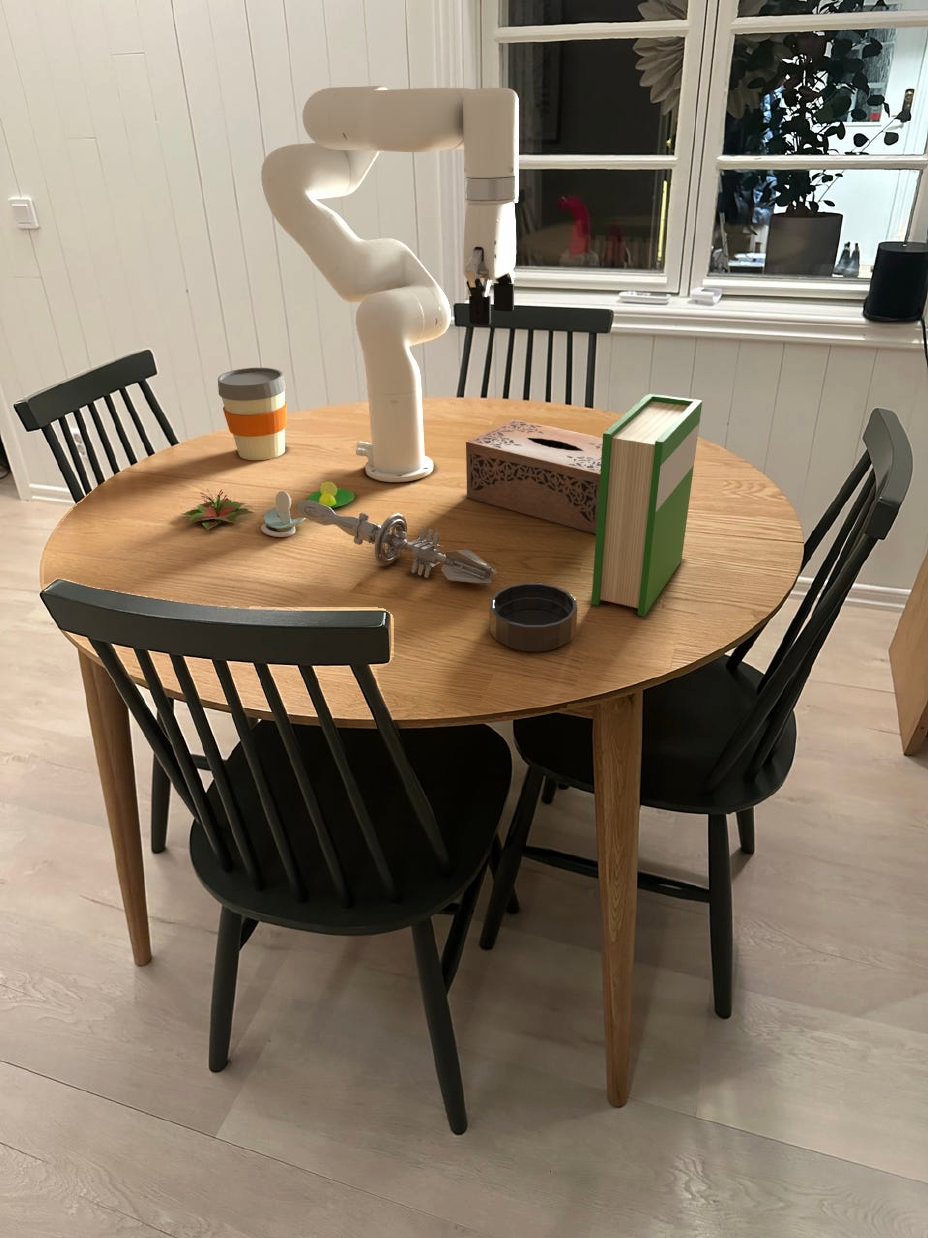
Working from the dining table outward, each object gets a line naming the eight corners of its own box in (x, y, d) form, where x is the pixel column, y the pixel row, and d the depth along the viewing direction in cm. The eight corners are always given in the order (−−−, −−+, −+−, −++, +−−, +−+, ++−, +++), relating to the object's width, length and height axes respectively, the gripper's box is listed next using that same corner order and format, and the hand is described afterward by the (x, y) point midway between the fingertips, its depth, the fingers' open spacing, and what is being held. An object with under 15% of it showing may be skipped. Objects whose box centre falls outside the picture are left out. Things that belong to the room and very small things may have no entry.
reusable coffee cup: (307, 447, 168) (297, 372, 161) (262, 468, 160) (250, 389, 152) (261, 437, 174) (250, 363, 166) (216, 456, 165) (201, 379, 158)
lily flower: (268, 516, 141) (264, 490, 138) (204, 539, 134) (199, 513, 131) (230, 496, 148) (226, 472, 146) (167, 517, 141) (162, 492, 139)
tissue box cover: (466, 497, 146) (465, 441, 141) (513, 471, 156) (514, 418, 150) (597, 534, 133) (602, 474, 127) (640, 503, 142) (645, 446, 137)
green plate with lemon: (303, 496, 148) (301, 481, 146) (347, 488, 150) (345, 473, 149) (314, 514, 141) (312, 498, 140) (360, 505, 144) (359, 490, 142)
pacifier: (285, 543, 132) (311, 528, 137) (279, 507, 129) (306, 492, 133) (252, 532, 136) (279, 518, 140) (245, 497, 133) (273, 483, 137)
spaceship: (317, 480, 133) (285, 479, 126) (512, 549, 119) (489, 551, 112) (306, 529, 135) (274, 530, 128) (497, 601, 121) (474, 607, 114)
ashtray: (476, 642, 107) (475, 615, 105) (509, 602, 115) (510, 576, 113) (558, 662, 103) (559, 634, 101) (586, 618, 111) (588, 592, 109)
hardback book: (644, 616, 111) (663, 442, 99) (591, 604, 114) (603, 433, 102) (681, 560, 125) (702, 400, 112) (633, 550, 128) (648, 393, 115)
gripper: (489, 185, 127) (490, 304, 136) (441, 196, 114) (446, 328, 122) (536, 185, 124) (534, 307, 133) (493, 197, 111) (494, 331, 120)
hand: (492, 317), depth 128 cm, fingers open, 9 cm apart
